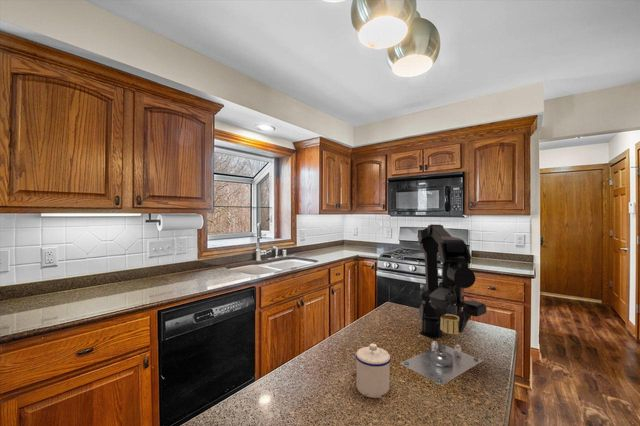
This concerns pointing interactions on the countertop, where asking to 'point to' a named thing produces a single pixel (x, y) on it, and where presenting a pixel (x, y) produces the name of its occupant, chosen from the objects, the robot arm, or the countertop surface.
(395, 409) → the countertop surface
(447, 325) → the planet gear
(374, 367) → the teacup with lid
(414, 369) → the carrier plate
